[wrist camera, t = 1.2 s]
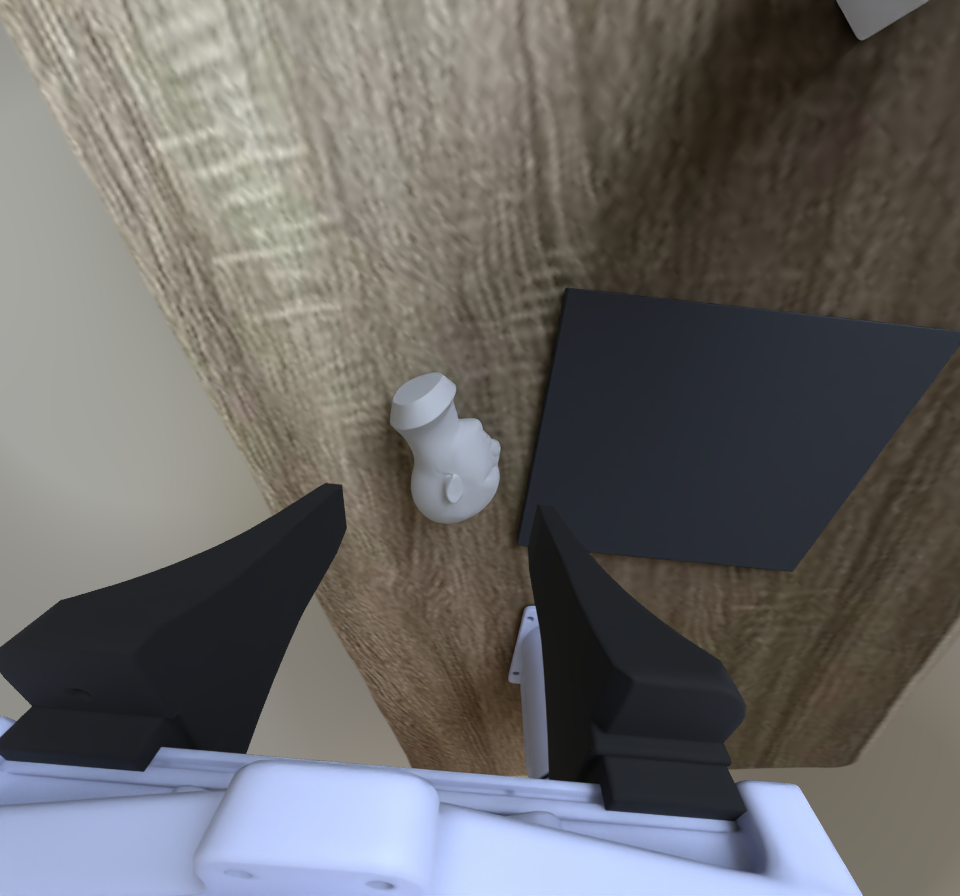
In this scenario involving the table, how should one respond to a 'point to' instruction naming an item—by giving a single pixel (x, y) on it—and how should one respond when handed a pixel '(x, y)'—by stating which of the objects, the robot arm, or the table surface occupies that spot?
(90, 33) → the table surface
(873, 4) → the ink cartridge box
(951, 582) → the table surface
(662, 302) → the mat
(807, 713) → the table surface
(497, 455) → the smooth white sculpture
